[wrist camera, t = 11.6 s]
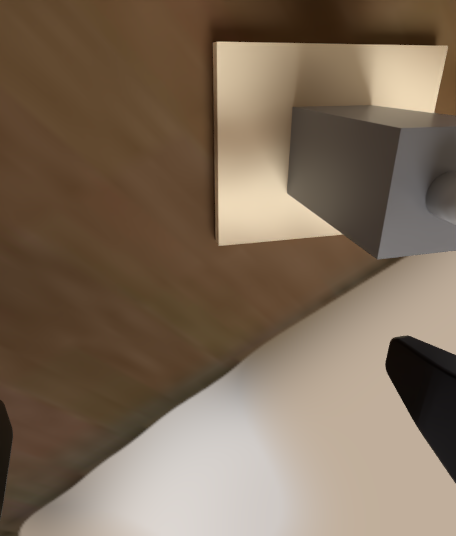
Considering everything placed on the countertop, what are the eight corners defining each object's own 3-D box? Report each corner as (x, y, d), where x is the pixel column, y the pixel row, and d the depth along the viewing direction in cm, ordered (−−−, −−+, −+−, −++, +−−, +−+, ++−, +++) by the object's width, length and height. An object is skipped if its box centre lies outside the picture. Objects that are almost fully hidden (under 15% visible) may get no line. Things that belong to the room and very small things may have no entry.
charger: (359, 188, 21) (522, 267, 12) (286, 193, 20) (408, 282, 11) (371, 105, 19) (572, 130, 10) (292, 106, 18) (441, 136, 10)
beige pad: (400, 223, 23) (409, 228, 22) (215, 239, 21) (218, 245, 20) (436, 46, 19) (448, 46, 18) (212, 42, 17) (216, 41, 16)
